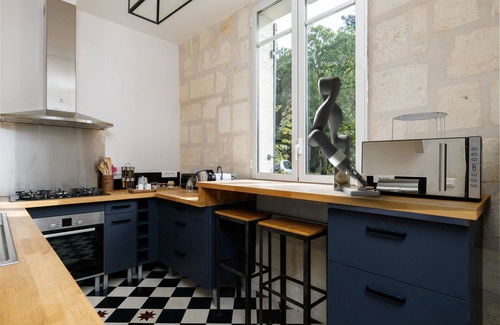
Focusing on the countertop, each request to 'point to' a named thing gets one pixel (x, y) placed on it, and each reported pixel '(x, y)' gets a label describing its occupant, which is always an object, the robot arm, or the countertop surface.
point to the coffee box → (341, 179)
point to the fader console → (361, 192)
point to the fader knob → (360, 183)
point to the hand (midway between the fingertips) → (365, 184)
